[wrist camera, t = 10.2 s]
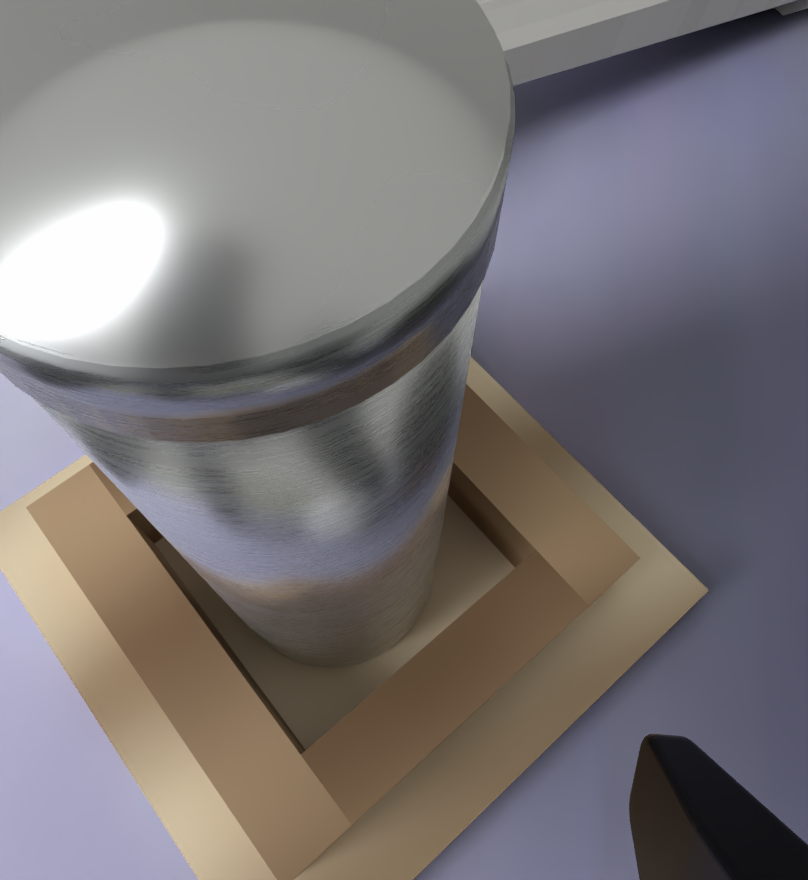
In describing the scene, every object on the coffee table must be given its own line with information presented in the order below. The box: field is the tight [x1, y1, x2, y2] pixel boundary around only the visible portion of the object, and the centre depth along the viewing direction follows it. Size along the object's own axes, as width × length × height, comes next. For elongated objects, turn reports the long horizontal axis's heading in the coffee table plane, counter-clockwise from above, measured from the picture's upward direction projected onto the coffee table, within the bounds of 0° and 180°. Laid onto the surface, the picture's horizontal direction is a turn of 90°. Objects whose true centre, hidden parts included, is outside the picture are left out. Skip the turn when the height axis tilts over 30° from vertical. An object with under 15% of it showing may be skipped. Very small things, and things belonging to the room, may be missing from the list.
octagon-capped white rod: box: [476, 0, 808, 86], centre depth 23 cm, size 5×7×25 cm
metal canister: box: [0, 0, 515, 668], centre depth 11 cm, size 5×5×13 cm
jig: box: [0, 356, 709, 880], centre depth 17 cm, size 12×12×3 cm
